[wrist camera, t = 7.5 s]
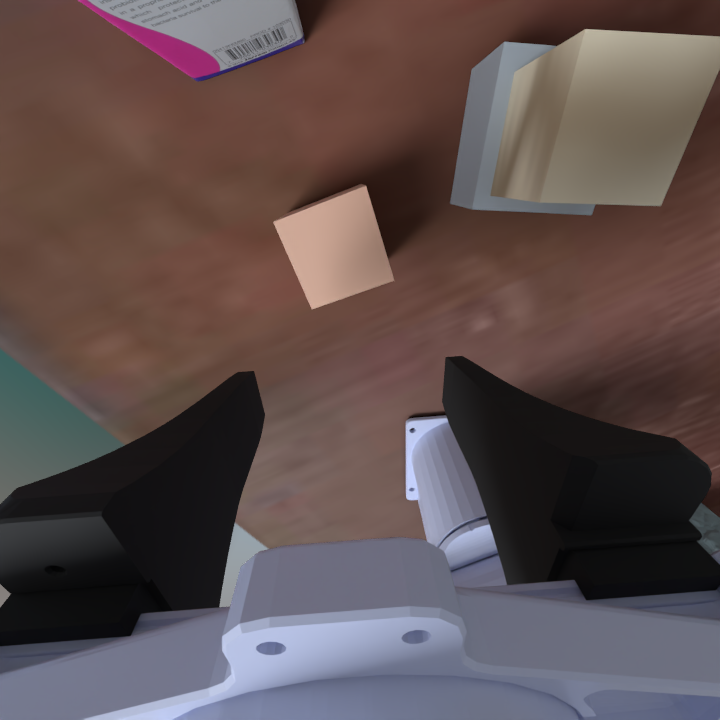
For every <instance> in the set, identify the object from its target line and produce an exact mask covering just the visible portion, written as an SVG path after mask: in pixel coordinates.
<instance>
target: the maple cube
mask: <svg viewBox="0 0 720 720" xmlns="http://www.w3.org/2000/svg"><path fill="white" fill-rule="evenodd" d="M719 69H720V37H718V36H700V35H682V34H665V33H647V32H629V31H611V30H593V29H585V30H583V31H581V32H580V33H578V34H576V35H575V36H573V37H572V38H570V39H568V40H567V41H565V42H563V43H562V44H560V45H558V46H557V47H555V48H553V49H552V50H550V51H548V52H547V53H545V54H543V55H542V56H540V57H539V58H537V59H535V60H534V61H532V62H530V63H529V64H527V65H525V66H524V67H522V68H520V69H519V70H517V71H515V72H514V77H513V82H512V88H511V93H510V98H509V103H508V108H507V113H506V118H505V123H504V128H503V133H502V138H501V143H500V148H499V153H498V159H497V164H496V169H495V174H494V179H493V184H492V189H491V194H490V196H495V197H503V198H510V199H517V200H524V201H531V202H539V203H571V204H606V205H642V206H661V204H662V202H663V200H664V197H665V195H666V193H667V190H668V188H669V186H670V183H671V181H672V179H673V176H674V174H675V172H676V169H677V167H678V165H679V163H680V160H681V158H682V156H683V153H684V151H685V149H686V146H687V144H688V142H689V139H690V137H691V135H692V132H693V130H694V128H695V125H696V123H697V121H698V118H699V116H700V114H701V111H702V109H703V107H704V104H705V102H706V100H707V97H708V95H709V93H710V90H711V88H712V86H713V83H714V81H715V79H716V76H717V74H718V72H719Z"/></svg>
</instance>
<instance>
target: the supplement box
mask: <svg viewBox="0 0 720 720" xmlns="http://www.w3.org/2000/svg"><path fill="white" fill-rule="evenodd" d="M78 1H80V2H81V3H83V4H84V5H86V6H87V7H88V8H90V9H91V10H93V11H94V12H96V13H97V14H99V15H100V16H101V17H103V18H104V19H106V20H107V21H109V22H110V23H112V24H113V25H115V26H116V27H118V28H119V29H121V30H122V31H124V32H125V33H127V34H128V35H129V36H131V37H132V38H134V39H135V40H137V41H138V42H140V43H141V44H143V45H144V46H146V47H147V48H149V49H150V50H152V51H153V52H155V53H156V54H158V55H159V56H161V57H162V58H164V59H165V60H167V61H168V62H170V63H171V64H173V65H174V66H175V67H177V68H178V69H180V70H181V71H183V72H184V73H186V74H187V75H189V76H190V77H192V78H193V79H194V80H196V81H202V80H206V79H209V78H212V77H214V76H217V75H220V74H223V73H226V72H229V71H232V70H234V69H237V68H240V67H242V66H245V65H248V64H250V63H253V62H256V61H259V60H261V59H264V58H267V57H269V56H272V55H274V54H277V53H279V52H282V51H285V50H287V49H290V48H292V47H295V46H297V45H300V44H303V43H304V42H305V40H304V33H303V29H302V25H301V21H300V17H299V14H298V10H297V6H296V2H295V0H78Z"/></svg>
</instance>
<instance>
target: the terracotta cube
mask: <svg viewBox="0 0 720 720" xmlns="http://www.w3.org/2000/svg"><path fill="white" fill-rule="evenodd" d="M273 223H274V225H275V227H276V229H277V232H278V234H279V236H280V238H281V241H282V243H283V245H284V247H285V250H286V252H287V254H288V256H289V259H290V261H291V263H292V265H293V268H294V270H295V272H296V274H297V277H298V279H299V281H300V283H301V286H302V288H303V290H304V292H305V295H306V297H307V299H308V301H309V304H310V306H311V308H312V309H315V308H317V307H320V306H323V305H326V304H329V303H332V302H334V301H337V300H340V299H343V298H346V297H349V296H352V295H354V294H357V293H360V292H363V291H366V290H369V289H372V288H374V287H377V286H380V285H383V284H386V283H389V282H391V281H394V278H393V274H392V271H391V268H390V264H389V261H388V258H387V254H386V251H385V248H384V244H383V241H382V238H381V234H380V231H379V227H378V224H377V221H376V217H375V214H374V211H373V207H372V204H371V201H370V197H369V194H368V191H367V187H366V185H363V184H360V185H357V186H354V187H352V188H349V189H347V190H344V191H342V192H339V193H337V194H334V195H332V196H329V197H327V198H324V199H321V200H319V201H316V202H314V203H311V204H309V205H306V206H304V207H301V208H299V209H296V210H294V211H291V212H288V213H287V214H285V215H283V216H282V217H280V218H279V219H277V220H276V221H274V222H273Z"/></svg>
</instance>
